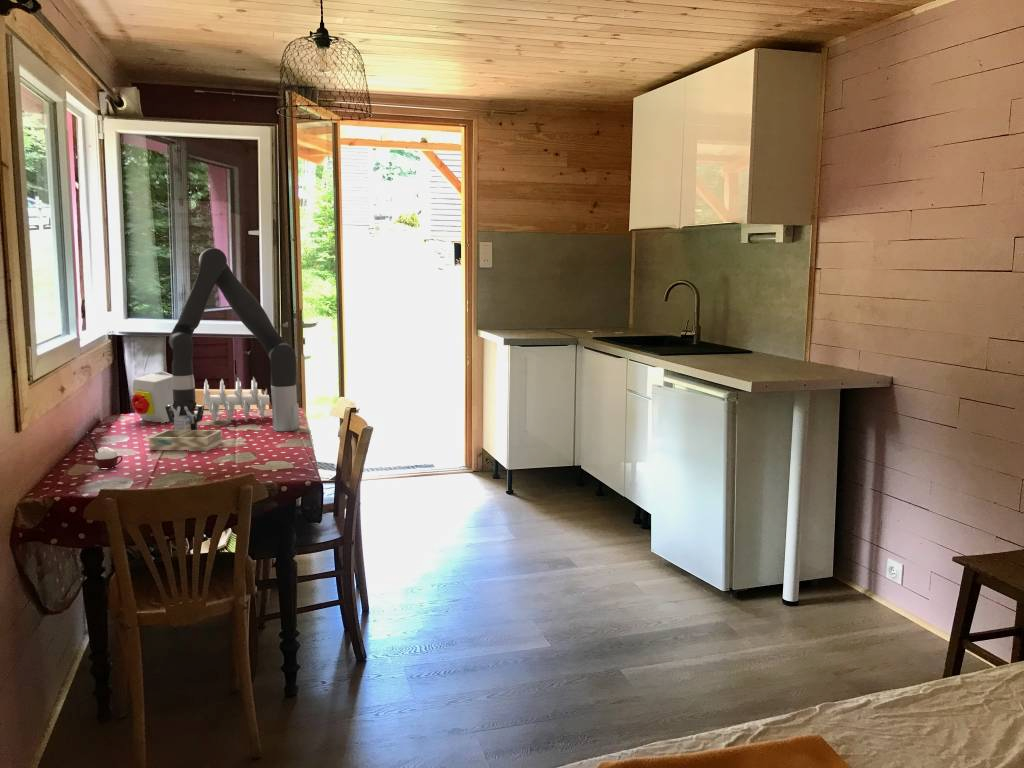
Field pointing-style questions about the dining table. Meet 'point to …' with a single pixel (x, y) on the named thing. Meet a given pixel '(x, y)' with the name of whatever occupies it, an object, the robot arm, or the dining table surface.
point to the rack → (186, 440)
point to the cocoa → (105, 456)
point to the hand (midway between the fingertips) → (186, 433)
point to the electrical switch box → (153, 396)
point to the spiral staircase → (235, 400)
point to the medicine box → (183, 422)
